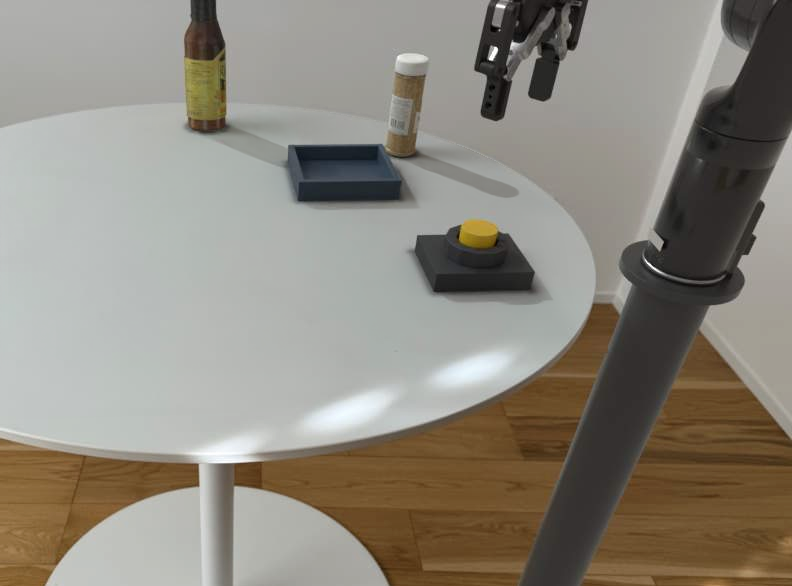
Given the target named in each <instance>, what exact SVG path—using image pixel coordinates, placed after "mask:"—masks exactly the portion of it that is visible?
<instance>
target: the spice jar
mask: <svg viewBox="0 0 792 586" xmlns="http://www.w3.org/2000/svg"><path fill="white" fill-rule="evenodd" d="M394 65H395V66H394V71H395V72H394V75H395V76H394V83H393V90H392V95H391V103H390V110H389V117H388V126H387V129H388V130H387V136H386V137H387V138H386V143H385V146H384V148H385V150H386V152H387V154H388V155H389V156H390V155H391V156H393V157H400V158H405V157H410V156H412V155H414V154H415V153H416V151H417V150H416V144H417V138H418V133H419V132H418V131H419V128H420V127H419V126H420V121H421V113H422V107H423V97H424V96H423V95H424V89H425V83H426V77H427V74H428V72H429V68H430V67H429V65H430V58H429V57H428V56H426V55H423V54H421V53H420V54H419V53H412V52H411V53H409V52H408V53H402V54H399V55H398V56H396V59H395V64H394Z"/></svg>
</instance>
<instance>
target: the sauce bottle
mask: <svg viewBox="0 0 792 586" xmlns="http://www.w3.org/2000/svg"><path fill="white" fill-rule="evenodd" d="M217 14H218V13H217V0H190V14H189V16H190V19H191V20H190V23H189V25H188V26H187V28H186V30H185V33H184V37H183V44H184V56H183V62H184V63H183V64H184V85H185V104H186V105H185V106H186V117H187V124H188V126H189V127H190V128H191V129H192V130H195V131H199V132H213V131H215V132H216V131H218V130H220V129H223V128H224V127H225V125H226V124H227V123H226V122H227V119H226V117H227V53H226V52H227V51H226V50H227V48H226V42H225V41H226V40H225V38H224V35H223V33H222V29H221V26H220V23H219V19H218V15H217Z"/></svg>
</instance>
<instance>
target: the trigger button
mask: <svg viewBox="0 0 792 586" xmlns="http://www.w3.org/2000/svg"><path fill="white" fill-rule="evenodd" d="M461 225H462V226H461V230H460V235H459V242H461V243H462V244H464V245H466V246H469V247H473V248H478V249H485V248H491V247H494V245H495V242H496V238H497V234H498V231H499V227H498V226H497V225H496V224H495V223H493V222H491V221H488V220H484V219H478V218H477V219H476V218H474V219H467V220H464V221H463V222H462V223H461Z"/></svg>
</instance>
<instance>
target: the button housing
mask: <svg viewBox="0 0 792 586" xmlns="http://www.w3.org/2000/svg"><path fill="white" fill-rule="evenodd" d="M461 226H462V224H458V225H455V226H452V227H450V228H449V229H448V230H447V231H446V232H445V233H446V234H417V236H416V242H415V247H414V254H415V256H416V258H417V259H418V262H419V264H420V266H421V268H422V271H423V273H424V275H425V277H426V279H427V281H428V283H429V285H430V287H431V289H432V291H433V292H465V291H504V290H509V291H510V290H531V288H532V285H533V280H534V278H535V274H536V271H535V270H534V268H533V267H532V265H531V264H530V262H529V261H528V259H527V258H526V256H525V255H524V254H523V252H522V251H521V249H520V248H519V246H518V244H516V242H515V240H514V239H513V237H512V236H511V234H510V233H509V232H506V233H505V232H504V233H503V232H501V231H499V230H498V234H497V238H496V242H495V245H494V247H491V248H485V249H478V248H473V247H469V246H466V245H464V244H462V243H461V242H459V235H460V230H461Z"/></svg>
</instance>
